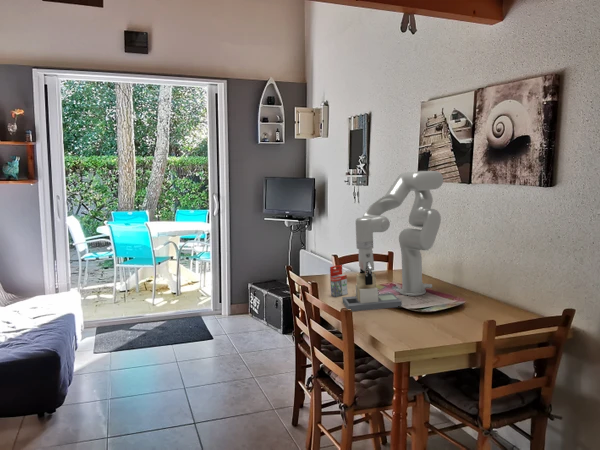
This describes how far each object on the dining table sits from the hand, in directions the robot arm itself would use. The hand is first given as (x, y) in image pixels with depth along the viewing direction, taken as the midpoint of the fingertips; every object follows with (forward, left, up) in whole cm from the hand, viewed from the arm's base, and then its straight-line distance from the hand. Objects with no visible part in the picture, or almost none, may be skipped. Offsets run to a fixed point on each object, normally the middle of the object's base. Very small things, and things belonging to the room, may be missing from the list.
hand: (366, 282), depth 217 cm
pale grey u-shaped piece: (0, 0, -8) cm, 8 cm away
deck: (-2, 0, -11) cm, 11 cm away
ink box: (+9, -20, -11) cm, 25 cm away
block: (0, 0, -8) cm, 8 cm away
